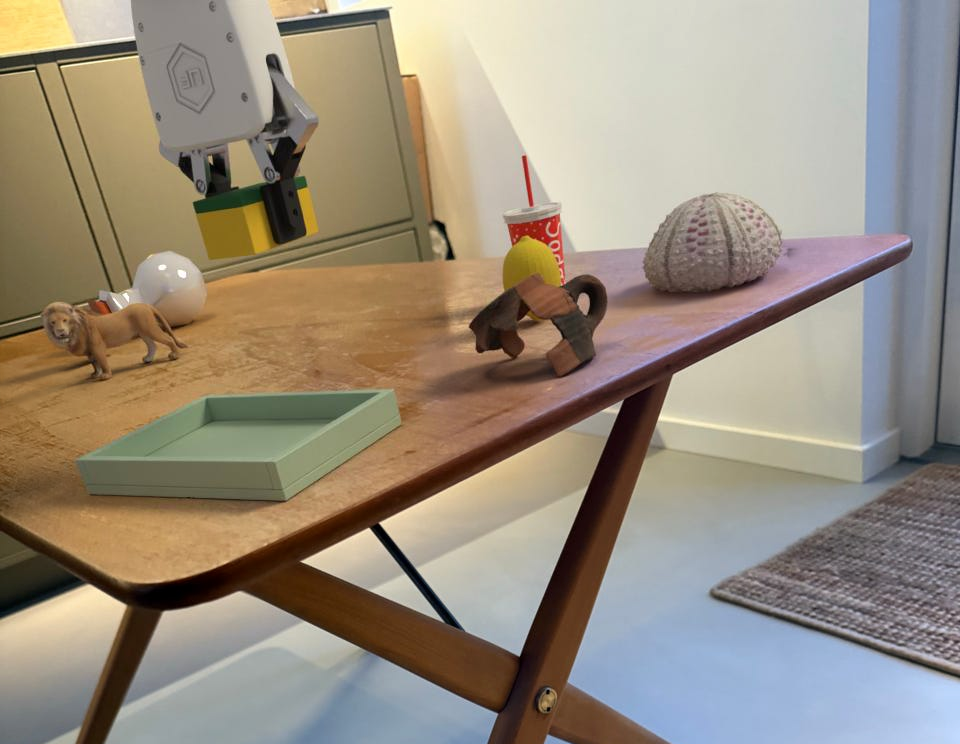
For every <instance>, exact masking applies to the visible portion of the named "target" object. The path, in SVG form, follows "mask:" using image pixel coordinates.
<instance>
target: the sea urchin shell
mask: <svg viewBox="0 0 960 744" xmlns="http://www.w3.org/2000/svg"><path fill="white" fill-rule="evenodd" d="M782 234H783V230H781V229H779V225H778V223H776V222H775V220H774V219H773V218H772V217H771V215H770V214H769V213H768V212H766V210H765V209H764V208H762V207H761V206H760V205H759V204H757V203H755V202H754V201H752V200H751V199H748V198H746V197H745V196H743V195H739V194H734V193H728V192H727V193H726V192H716V191H715V192H713V193H704V194H703V193H702V194H701V195H699V196H696V197H692V198H691V199H689V200H686V201H684V202H682V203H680V204H678V205H677V207H675V208H673V210H672V211H671V212H670V213H669V214H666V215H665V219H664V221H663V222H661V223H659V224H658V229H657V231H655V232H653V237H652V239H651V240H650V242H649V244H648V248H647V250H646V252H645V253H644V257H643V260H642V264H643V266H642V269H643V272H644V274H645V275H644V277H645V279H647V281H648V283H649V284H651V285H652V286H654V288H656V290H661V291H662V292H663V291H665V290H667V291H668V292H670V293H672V292H677V293H680V292H689V293H693V292H694V293H697V292H699V293H700V292H702V291H707V292H711V291H715V290H719V289H720V288H722V287H723V288H724V287H727V288H733V287H734V286H737V287H738V286H740V285H743V284H744V282H747V283H749V282H751V281H755V280H756V279H757V278H758V277H762V276H763V274H768V273H769V270H770V268H772V267H774V266H776V261H777V260H778V258H779V257H780V256H781V255H780V253H781V252H782V251H783V249H782V245H783V242H784V241H785V240H784V238H783V237H782Z"/></svg>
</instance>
